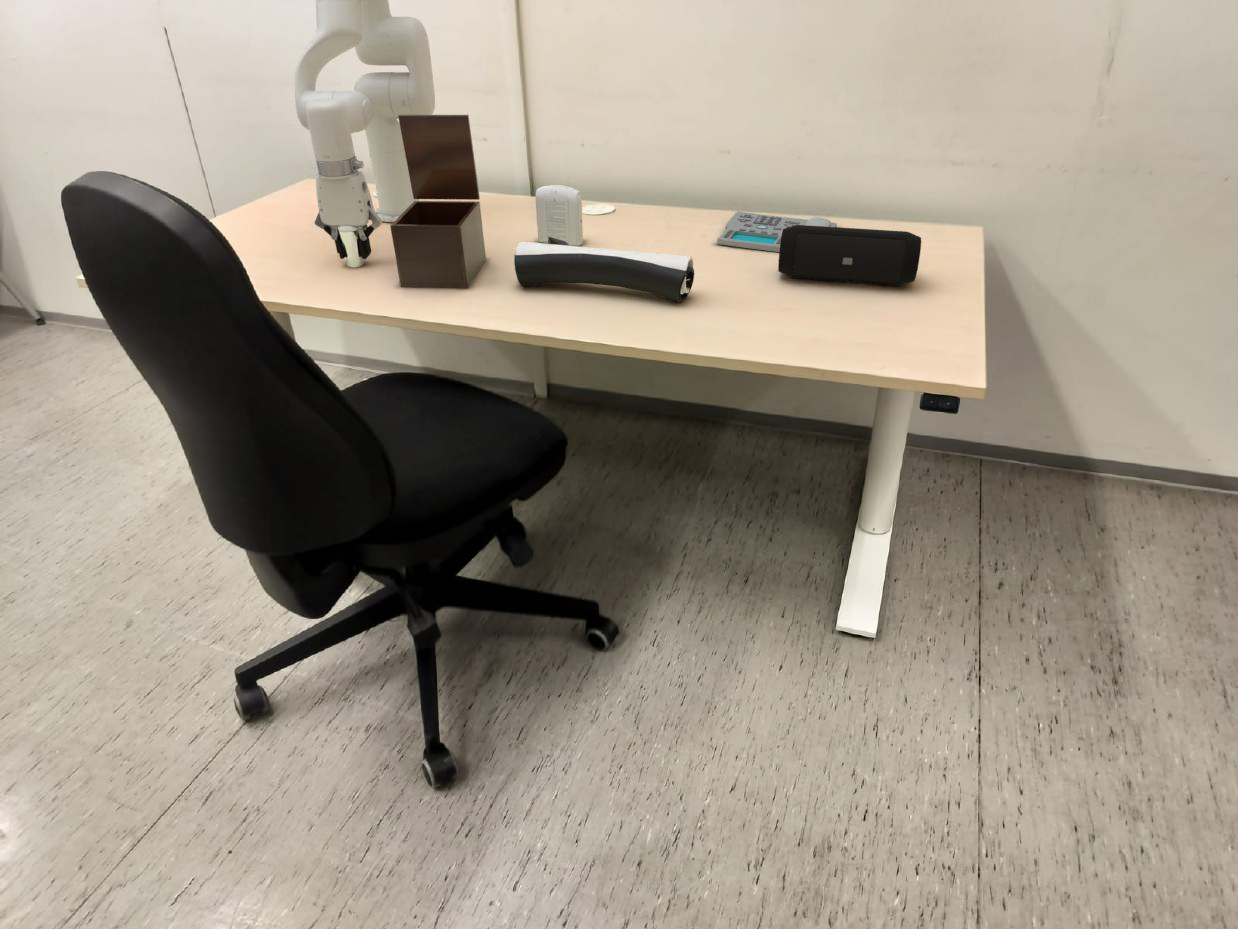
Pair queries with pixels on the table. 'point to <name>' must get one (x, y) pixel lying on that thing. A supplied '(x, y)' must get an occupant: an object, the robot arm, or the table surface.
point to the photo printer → (559, 214)
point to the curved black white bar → (604, 268)
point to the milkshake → (351, 245)
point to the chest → (439, 244)
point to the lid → (440, 156)
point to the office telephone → (762, 230)
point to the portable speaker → (849, 255)
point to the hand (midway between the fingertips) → (355, 255)
